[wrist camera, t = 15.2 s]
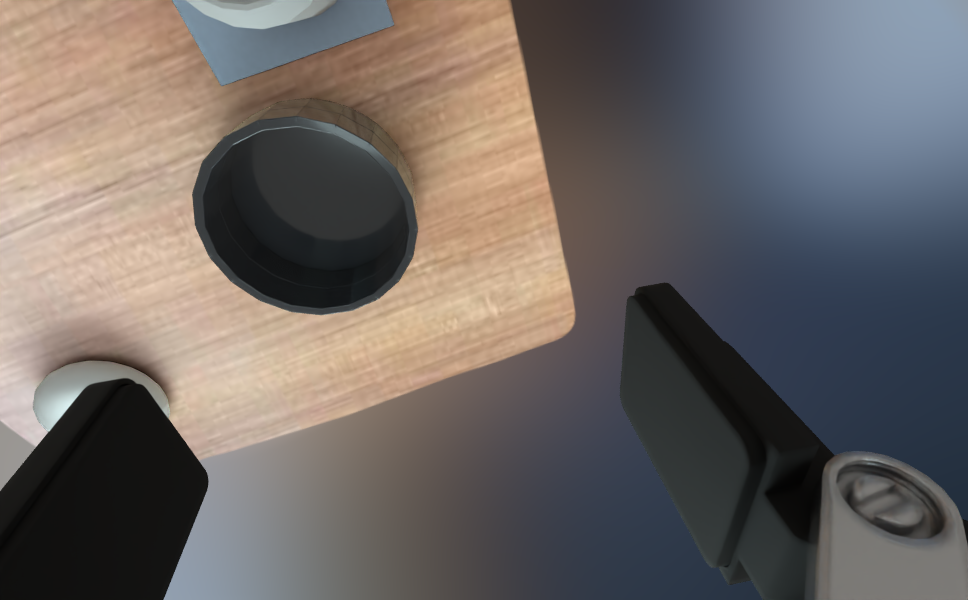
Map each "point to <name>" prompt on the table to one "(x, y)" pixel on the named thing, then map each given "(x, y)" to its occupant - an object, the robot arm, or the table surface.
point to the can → (261, 11)
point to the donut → (77, 376)
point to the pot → (308, 207)
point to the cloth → (280, 37)
